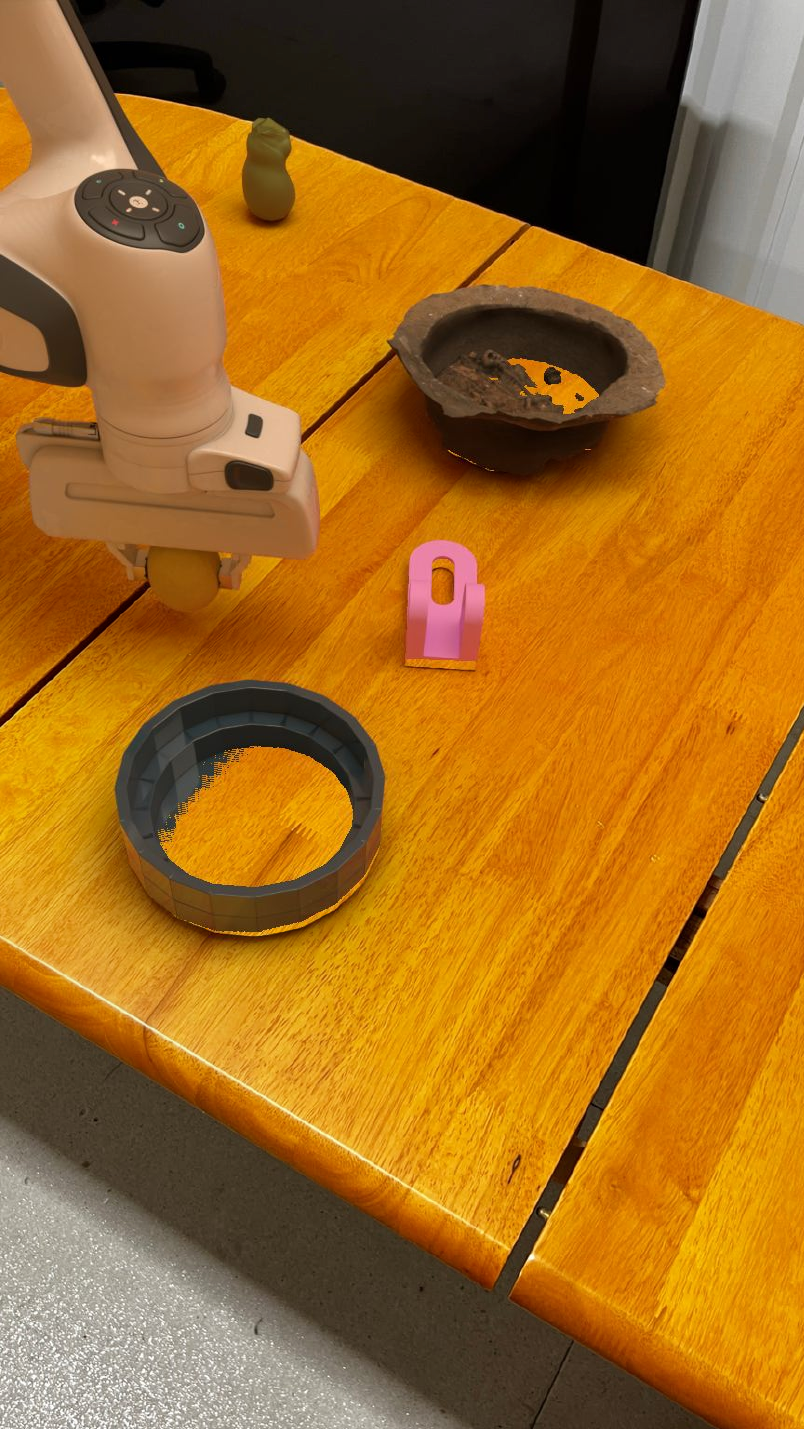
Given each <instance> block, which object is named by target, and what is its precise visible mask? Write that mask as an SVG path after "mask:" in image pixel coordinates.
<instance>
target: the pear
mask: <svg viewBox="0 0 804 1429" xmlns="http://www.w3.org/2000/svg"><path fill="white" fill-rule="evenodd" d="M290 135H291V134H290V131H289V129H287V128H285V127H284V126H282V125H281V124H280V123H278V122H276V121H275V120H273V119H272V118H270V117H267V118H262V117H258V118H256V119H255V120H253V121H252V123H251V131H250V132H248V133H247V137H246V142H245V146H246V147H245V150H246V156H245V160H244V163H243V164H242V170H241V187H242V188H241V189H242V194H243V199H244V202H245V204H246V206H247V208H248V210H249V211H250V212H251V213H252V214H253V215H254V216H255V217H257V218H259V219H261V220H263V221H267V222H275V221H279V220H282V219H283V218H285V217H286V216H288V214H290V212H291V211H292V209H293V207H294V205H295V202H296V188H295V185H294V182H293V180H292V178H291V176H290V173H289V172H288V170H287V164H286V163H287V160H288V158H289V157H290V155H291V152H292V149H293V148H292V141H291V136H290Z"/></svg>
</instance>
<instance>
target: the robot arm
mask: <svg viewBox="0 0 804 1429" xmlns="http://www.w3.org/2000/svg"><path fill="white" fill-rule="evenodd" d="M0 82H1V84H2V85H3V86H2V87H3V88H4V89H5V91H6V93H7V94H8V96H9V98H10V100H11V101H12V103H13V106H14V107H15V109H16V111H17V112H18V114H19V116H20V119H21V120H22V121H23V123H24V126H25V127H26V129H27V131H28V134H29V137H30V144H31V153H30V160H29V164H28V167H27V169H26V170H25V171H24V172H22V174H20V175H19V176H17V178H15V179H14V180H12V182H10V183H9V184H7V185H6V186H5V187H3V189H2V190H0V373H2V374H4V375H8V376H11V377H16V378H19V379H23V380H29V381H32V382H36V383H42V384H46V385H52V386H58V387H64V388H80V387H83V386H85V387H86V388H88V389H89V390H90V391H91V395H92V403H93V408H94V412H95V418H96V421H87V420H61V419H55V418H54V417H45V416H44V417H43V416H40V417H35V418H34V419H33V421H32V422H26V423H25V424H22V425H21V426H20V427H19V428H18V429H17V431H16V434H15V443H16V446H17V451H18V454H19V457H20V461H21V462H22V464H23V465H24V466H25V467H26V468H27V469H28V470H29V472H28V489H29V490H28V493H29V502H30V503H29V504H30V511H31V514H32V515H31V516H32V521H33V524H34V525H35V526H36V527H37V528H38V529H39V530H40V531H41V532H42V533H44V534H45V535H46V536H49V537H52V538H63V539H64V538H65V539H75V540H86V541H95V542H96V541H97V542H105V547H106V550H107V551H109V553H110V554H111V555H113V556H114V558H116V559H117V560H118V561H119V563H121V564H122V566H125V572H126V576H127V580H128V581H132V582H133V581H134V582H146V583H149V578H148V574H147V559H148V552H149V550H145V549H139V547H138V546H148V547H150V546H158V547H168V548H179V549H190V550H200V551H211V552H218V553H223V554H231V558H230V557H221V558H220V559H221V563H220V565H221V567H220V568H219V573H218V578H219V581H220V583H219V588H220V590H221V589H223V590H231V591H240V589H241V584H242V577H243V572H244V571H245V570H246V569H247V568H248V566H249V565H250V564H251V563H252V558H253V556H254V557H263V558H265V557H266V558H276V559H284V560H285V559H287V560H295V561H305V560H307V559H308V558H310V557H311V555H313V554H314V553H315V552H316V551H317V548H318V543H319V539H320V528H321V507H320V506H321V505H320V495H319V489H318V482H317V478H316V473H315V469H314V466H313V463H312V460H311V458H310V457H309V456H308V454H307V452H305V451H304V450H303V449H302V447H301V446H302V420H301V417H300V415H299V413H297V412H296V411H295V410H293V409H290V408H288V407H286V406H283V405H280V404H278V403H275V402H272V401H269V400H266V399H264V398H261V397H259V396H256V395H255V394H251V393H250V392H247V391H245V390H243V389H240V388H238V387H236V386H235V385H232V384H231V381H230V378H229V375H228V373H227V370H226V368H225V366H224V354H225V351H226V347H227V342H228V325H227V314H226V303H225V292H224V286H223V285H224V284H223V278H222V272H221V266H220V262H219V256H218V251H217V247H216V243H215V239H214V237H213V234H212V232H211V229H210V226H209V224H208V222H207V220H206V217H205V215H204V214H203V211H202V209H201V208H200V206H199V204H198V203H197V202H196V200H195V199H194V197H192V195H191V194H190V193H188V191H186V190H185V189H184V188H182V186H180V185H178V184H177V183H176V182H174V181H172V180H170V179H169V178H168V177H167V175H166V173H165V172H164V170H163V169H162V167H161V165H160V164H159V163H158V161H157V160H156V158H155V157H154V155H153V154H152V152H151V150H149V148H148V147H147V145H146V144H145V143H144V141H143V140H142V138H141V137H140V136H139V134H138V132H137V131H136V130H135V128H134V126H133V125H132V123H131V122H130V120H129V118H128V117H127V115H126V113H125V111H124V109H123V107H122V106H121V104H120V102H119V100H118V98H117V96H116V94H115V92H114V90H113V88H112V86H111V84H110V82H109V80H108V77H107V76H106V74H105V72H104V70H103V68H102V65H101V64H100V62H99V58H98V57H97V55H96V53H95V51H94V49H93V47H92V45H91V43H90V41H89V39H88V37H87V34H86V33H85V30H84V29H83V26H82V25H81V23H80V20H79V18H78V16H77V14H76V12H75V10H74V7H73V6H72V4H71V2H70V0H0Z"/></svg>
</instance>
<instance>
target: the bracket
mask: <svg viewBox="0 0 804 1429" xmlns="http://www.w3.org/2000/svg"><path fill="white" fill-rule="evenodd" d="M409 557H410V558H409V564H408V576H409V584H408V583H407V600H408V607H407V606H406V608H407V609H406V623H407V630H406V629H405V646H406V653H405V652H404V660H405V659H429V660H455V661H477V662H478V656H479V651H480V643H481V637H482V630H483V625H484V624H483V623H484V615H485V601H486V600H485V599H486V598H485V597H486V588H485V586H486V585H485V584H484V583H478V563H477V560H476V557H475V556H474V554H473V553H472V552H471V551H470V549H468V548H466V547H465V546H464V545H462V544H460V543H457V542H454V541H450V540H444V539H443V540H442V539H437V540H430V541H427V542H424V543H422V544H420V545H419V546H417V547H416V548H415V549H414V550H413V552H412V553H411V555H410V556H409ZM437 559H448V560H450V561H451V562H453V564H454V600H453V599H452V601H451V602H450V603H447V604H440V603H436V602H435V601H434V600H433V598H432V582H433V580H432V579H433V578H432V577H433V571H432V563H433V562H434V561H435V560H437Z"/></svg>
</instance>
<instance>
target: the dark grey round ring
mask: <svg viewBox="0 0 804 1429" xmlns="http://www.w3.org/2000/svg"><path fill="white" fill-rule="evenodd" d="M250 746H257V747H258V746H261V747H273V748H277V747H279V748H285V749H289V750H291V751H295V752H298V753H301V754H305V755H306V756H310V757H311V758H313V759H314V760H315V761H317V762H319V763H321V764H322V765H323V766H324V767H326V768H328V769H329V770H331V771H332V772H333V773H334V774H335V775H336V777H337V778H338V780H339V781H340V783H341V784H342V785H343V786H344V788H346V790H347V792H348V795H349V798H350V802H351V805H352V809H353V820H352V827H351V829H350V831H349V833H348V834H347V836H346V838H345V840H344V842H343V844H342V846H341V848H340V850H339V851H338V852H337V853H336V854H335V855H334V856H333V857H332V858H331V859H330V860H329V861H328V862H327V863H326V864H324V865H323V866H321V867H319V868H317V869H315V870H313V871H311V872H309V873H307V874H305V875H303V876H301V877H299V878H297V879H295V880H291V881H285V882H280V883H275V884H270V885H264V886H259V887H246V886H234V885H222V884H212V883H210V882H207V881H204V880H202V879H199V878H196V877H194V876H191V875H189V874H188V873H186V872H185V871H184V870H183V869H181V868H180V867H179V866H177V865H176V864H175V863H174V862H172V861H171V860H170V859H169V858H168V856H167V854H166V853H165V851H164V850H163V848H162V846H163V845H162V846H161V845H160V842H165V841H169V840H164V841H161V839H159V838H161V837H159V836H161V835H164V834H161V833H164V832H161V831H164V830H165V832H171V831H174V830H171V829H175V828H176V823H175V822H176V819H175V817H174V816H175V814H176V815H182V814H186V813H182V812H186V811H182V810H186V809H182V808H185V807H182V806H185V805H182V804H185V803H188V801H192V800H195V799H192V800H188V799H191V798H195V797H191V796H195V795H193V794H195V792H198V791H200V790H199V789H201V788H202V787H205V788H210V787H206V786H210V785H206V784H210V783H206V782H214V781H210V780H214V779H207V780H208V781H206V780H202V779H206V778H202V777H206V776H202V775H207V776H208V777H207V778H210V777H209V776H214V774H216V775H221V774H217V773H221V772H217V771H222V770H218V769H222V768H218V767H214V766H218V765H214V764H218V763H214V762H221V763H227V761H230V760H227V759H230V758H227V757H231V756H228V755H231V754H228V753H236V752H231V751H236V750H232V749H237V748H238V749H241V748H249V747H250ZM250 748H254V747H250ZM225 750H226V751H225ZM228 750H230V751H228ZM241 750H244V749H241ZM224 752H228V753H224ZM239 752H244V751H240V750H239ZM224 754H227V755H224ZM237 754H240V753H237ZM241 754H243V753H241ZM215 755H216V756H215ZM232 755H235V754H232ZM247 755H248V754H247ZM223 756H225V757H223ZM235 756H239V755H235ZM235 756H234V758H239V757H235ZM242 756H243V755H242ZM215 757H216V758H215ZM219 758H220V759H219ZM223 758H224V759H223ZM232 760H235V759H232ZM236 760H239V759H236ZM204 762H205V763H204ZM231 762H234V761H231ZM236 762H239V761H236ZM211 763H212V764H211ZM203 764H204V765H203ZM220 765H222V764H220ZM223 765H226V764H223ZM228 766H229V765H228ZM219 767H222V766H219ZM223 767H224V766H223ZM214 768H218V769H214ZM227 768H229V767H227ZM214 770H217V771H214ZM214 772H216V773H214ZM225 772H226V771H225ZM225 774H226V773H225ZM199 776H200V777H199ZM216 777H217V776H216ZM211 778H214V777H211ZM202 781H206V782H202ZM202 783H206V784H202ZM202 785H206V786H202ZM213 787H214V786H213ZM195 788H198V789H195ZM385 789H386V773H385V770H384V767H383V763H382V760H381V756H380V753H379V750H378V746H377V744H376V742H375V741H374V740H373V739H372V737H371V736H370V735H369V733H368V732H367V730H366V729H365V728H364V727H363V725H362V724H361V723H360V721H359V720H358V718H357V717H356V716H355V715H353V713H350V712H349V711H348V710H346V709H345V708H343V707H342V706H340V705H339V704H337V703H336V702H335V701H333V700H332V699H331V698H329V697H327V696H325V695H324V694H321V693H319V692H315V691H313V690H310V689H307V688H304V687H301V686H299V685H296V684H292V683H290V682H283V681H271V680H261V679H241V680H236V681H228V682H221V683H215V684H210V685H207V686H205V687H202V688H200V689H198V690H196V691H193V692H191V693H188V694H186V695H183V696H181V697H178V698H176V699H174V700H172V701H171V702H170V703H168V704H167V705H166V706H164V707H163V708H162V709H160V710H159V711H158V712H157V713H155V714H154V715H153V716H151V717H150V718H149V719H147V720H146V721H145V722H144V723H143V724H142V725H141V726H140V728H139V729H138V731H137V732H136V734H135V736H133V738H132V740H131V741H130V742H129V744H128V745H127V746H126V749H125V750H124V752H122V756H121V760H120V764H119V768H118V772H117V776H116V780H115V782H114V790H113V791H114V795H115V796H114V797H115V802H116V809H117V816H118V822H119V823H118V824H119V826H120V831H121V835H122V838H123V842H124V848H125V850H126V854H127V858H128V864H129V866H130V867H131V869H132V871H133V872H134V874H135V876H136V878H137V879H138V881H139V882H140V884H141V886H142V888H143V890H144V891H145V893H146V895H148V897H149V898H151V899H152V898H153V899H154V900H153V899H152V900H153V901H154V902H156V901H157V902H158V903H159V904H158V903H157V902H156V903H157V904H158V905H159V906H161V905H162V906H163V907H164V908H165V909H164V908H163V907H162V906H161V907H162V908H163V909H164V910H166V909H167V910H168V911H169V912H171V913H172V914H173V915H175V916H176V917H178V918H179V919H182V920H186V921H187V922H192V923H194V924H197V925H200V926H202V927H205V928H209V929H211V930H214V931H215V930H216V931H222V932H224V931H233V932H237V931H239V932H244V931H245V932H262V931H263V930H267V929H269V930H270V929H272V928H276V927H280V926H284V925H290V924H293V923H297V922H298V923H299V922H302V921H304V920H306V919H308V918H309V917H311V916H313V915H315V914H316V913H318V912H321V911H323V910H325V909H328V908H329V907H331V906H333V905H335V904H336V903H338V901H339V900H340V899H342V897H343V896H345V895H346V894H347V893H348V892H349V891H350V889H352V888H353V887H354V886H355V885H356V884H357V883H358V882H359V881H360V880H361V879H362V878H363V877H364V875H365V874H366V872H367V870H368V868H369V866H370V864H371V862H372V860H373V858H374V856H375V854H376V852H377V850H378V848H379V846H380V847H381V841H382V830H383V819H384V818H383V817H384V804H385V803H384V802H385ZM195 790H198V791H195ZM205 790H206V789H205ZM198 793H199V792H198ZM198 795H199V794H198ZM188 797H191V798H188ZM198 797H199V796H198ZM198 799H199V798H198ZM182 802H185V803H182ZM192 802H195V801H192ZM178 803H179V804H178ZM178 805H180V806H178ZM186 805H188V804H186ZM178 807H180V808H178ZM186 807H188V806H186ZM178 809H181V810H178ZM187 809H188V808H187ZM178 811H181V812H178ZM187 812H188V810H187ZM179 813H182V814H179ZM169 815H170V816H169ZM169 817H171V818H169ZM176 817H179V816H176ZM382 818H383V819H382ZM177 819H179V818H177ZM178 821H179V820H178ZM166 822H167V823H166ZM166 824H167V825H166ZM174 827H175V828H174ZM167 828H168V829H167ZM161 829H164V830H161ZM381 829H382V830H381ZM158 830H159V831H158ZM167 830H170V831H167ZM158 832H160V833H158ZM171 833H174V832H171ZM171 833H170V834H171ZM158 834H161V835H158ZM166 834H168V833H166ZM173 835H174V834H173ZM168 836H171V835H167V836H165V837H168ZM162 837H164V836H162ZM168 838H172V837H168ZM163 839H165V838H163ZM170 840H172V839H170ZM380 840H381V841H380ZM171 842H172V841H171ZM161 844H162V843H161ZM165 850H167V849H165ZM166 852H167V851H166ZM167 910H166V911H167ZM168 911H167V912H168ZM169 912H168V913H169ZM171 913H170V914H171ZM172 914H171V915H172ZM173 915H172V916H173ZM176 917H175V918H176ZM179 919H178V920H179ZM187 922H186V923H187Z"/></svg>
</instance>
